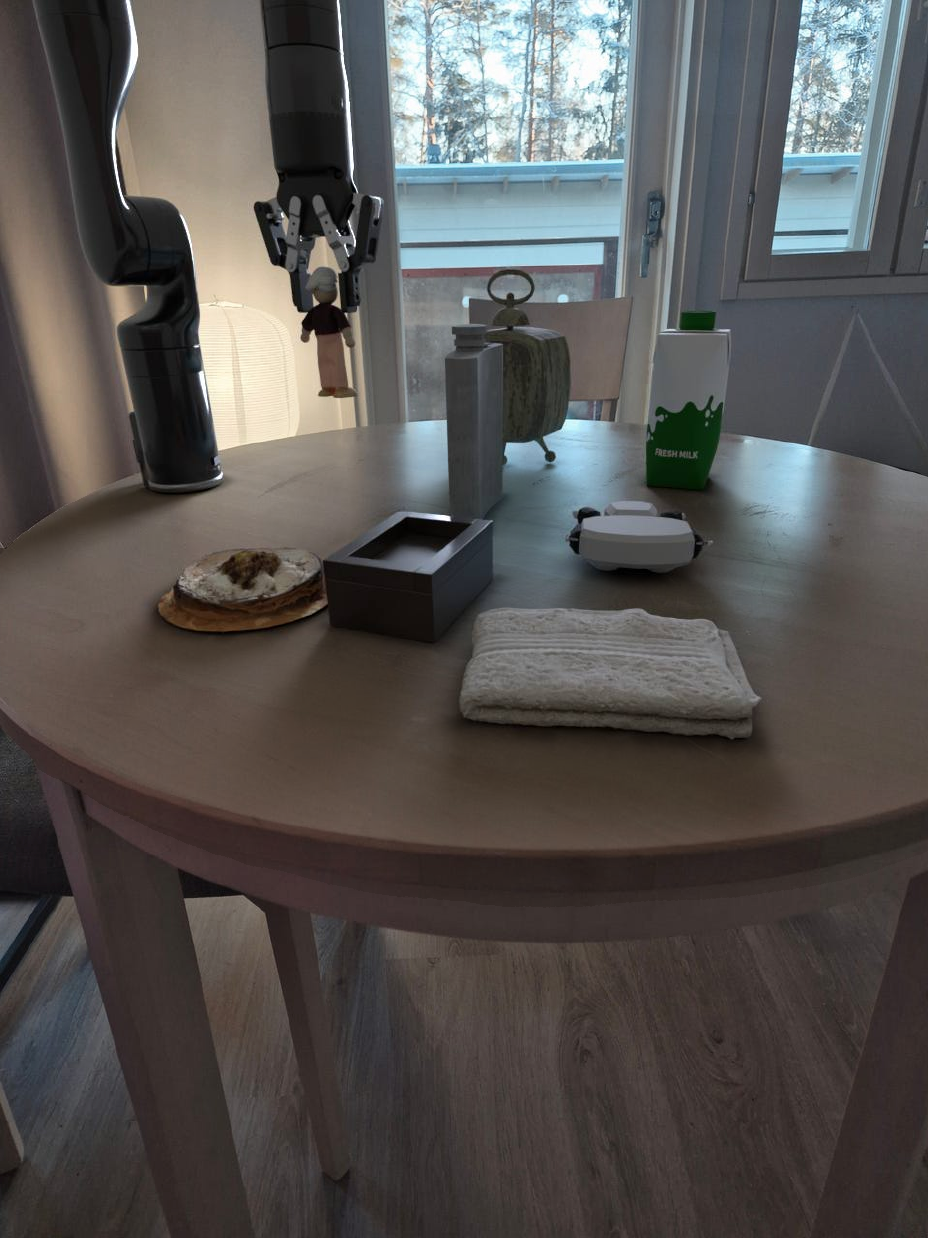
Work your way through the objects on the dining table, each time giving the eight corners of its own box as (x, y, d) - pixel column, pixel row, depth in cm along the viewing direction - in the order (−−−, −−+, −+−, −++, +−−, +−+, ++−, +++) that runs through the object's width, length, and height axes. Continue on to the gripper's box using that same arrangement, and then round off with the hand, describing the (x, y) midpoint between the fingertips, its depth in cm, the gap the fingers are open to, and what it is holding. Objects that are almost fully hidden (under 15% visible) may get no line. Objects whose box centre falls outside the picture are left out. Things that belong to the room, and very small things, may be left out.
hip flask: (476, 537, 74) (473, 329, 65) (438, 535, 75) (430, 329, 66) (504, 495, 88) (505, 318, 79) (472, 493, 89) (469, 319, 80)
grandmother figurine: (373, 394, 78) (364, 265, 73) (354, 399, 75) (343, 265, 70) (315, 391, 81) (302, 266, 76) (294, 396, 78) (279, 267, 73)
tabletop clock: (567, 461, 103) (575, 267, 92) (538, 475, 96) (543, 268, 85) (481, 451, 110) (479, 269, 99) (448, 463, 103) (442, 270, 92)
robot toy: (567, 537, 76) (563, 582, 62) (569, 495, 74) (565, 531, 61) (686, 541, 74) (709, 588, 60) (691, 497, 72) (715, 536, 59)
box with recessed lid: (329, 625, 56) (322, 560, 54) (402, 567, 67) (399, 510, 65) (434, 643, 53) (431, 574, 51) (493, 579, 64) (493, 520, 61)
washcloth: (765, 745, 41) (774, 699, 40) (454, 730, 43) (453, 686, 42) (721, 647, 52) (727, 608, 50) (474, 639, 54) (473, 601, 52)
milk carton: (716, 475, 94) (738, 310, 86) (710, 493, 87) (734, 314, 78) (648, 470, 97) (663, 310, 89) (637, 487, 90) (652, 314, 81)
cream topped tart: (210, 560, 69) (203, 519, 68) (359, 566, 67) (356, 524, 65) (123, 628, 56) (111, 579, 54) (305, 638, 54) (299, 587, 52)
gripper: (395, 115, 68) (404, 310, 75) (269, 127, 73) (289, 310, 80) (356, 100, 62) (370, 315, 69) (221, 114, 66) (248, 313, 74)
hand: (327, 311), depth 75 cm, fingers closed on grandmother figurine, 4 cm apart
